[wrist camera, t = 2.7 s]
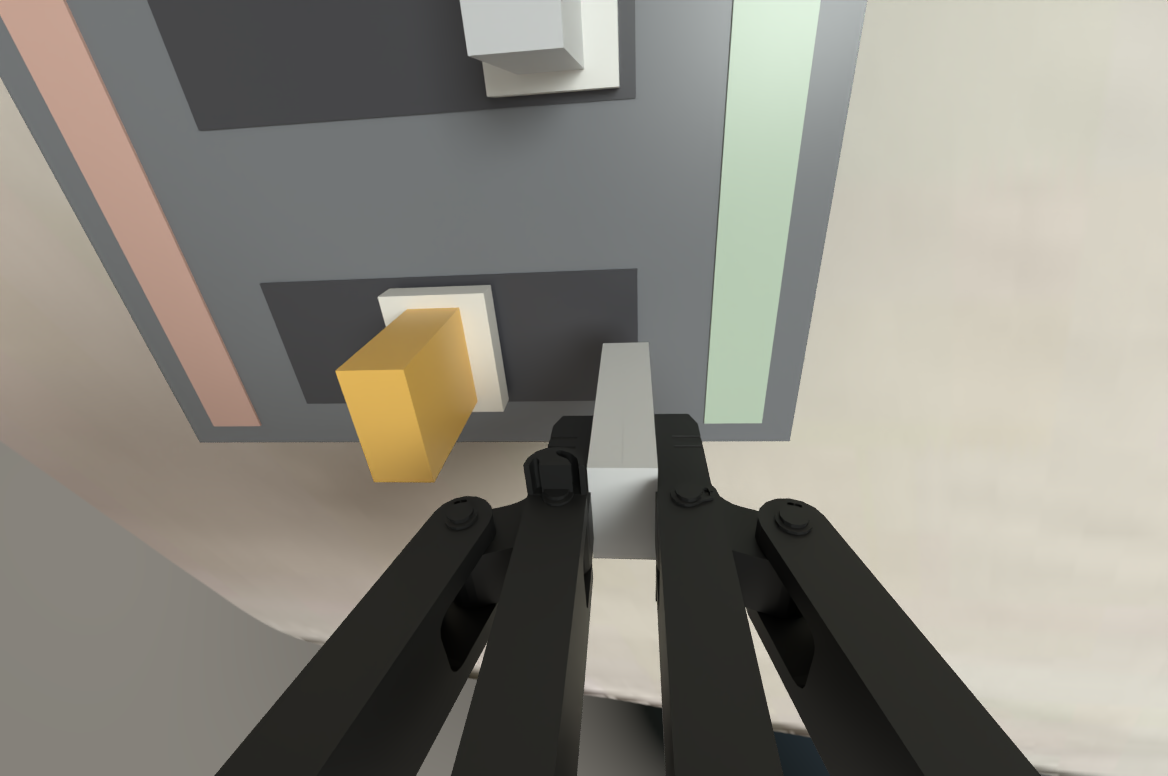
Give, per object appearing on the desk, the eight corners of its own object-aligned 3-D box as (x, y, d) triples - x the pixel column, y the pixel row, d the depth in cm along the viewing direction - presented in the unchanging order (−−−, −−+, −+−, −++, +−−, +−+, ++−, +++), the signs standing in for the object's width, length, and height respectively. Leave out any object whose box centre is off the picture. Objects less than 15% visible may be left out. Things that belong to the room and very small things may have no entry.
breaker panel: (-8, -86, 16) (-538, -256, 9) (867, -202, 13) (1159, -592, 6) (235, 415, 26) (79, 533, 19) (774, 410, 23) (842, 548, 16)
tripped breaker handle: (389, 288, 19) (295, 355, 13) (490, 284, 18) (434, 352, 13) (418, 400, 21) (349, 493, 16) (508, 399, 21) (467, 494, 15)
